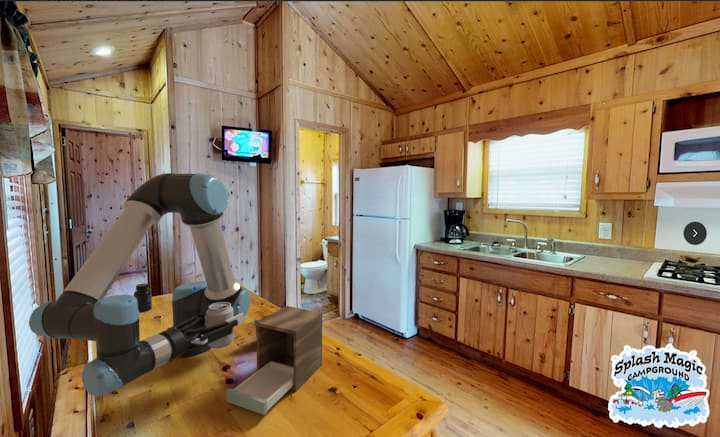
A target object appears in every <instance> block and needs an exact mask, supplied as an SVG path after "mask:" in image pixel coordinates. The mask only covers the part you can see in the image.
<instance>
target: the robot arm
mask: <svg viewBox="0 0 720 437" xmlns="http://www.w3.org/2000/svg"><path fill="white" fill-rule="evenodd" d="M228 200H229V195H228V191H227V187H226V186H225V184H224V182H223V181H222V180H221V179H220V178H218V177H217V176H216V175H213V174H206V173H170V172H169V173H168V172H167V173H162V174H158V175H155V176H153V177H151V178H150V179H148V180H146V181H145V182H143V183H142V184H141V185H140V186H138V188H136V189H135V190H134V191H133V192H132V193H131V194H130V195H129V197H128V198H127V199H126V201H125V202H124V203H123V205H122V206H123V212H122V213H121V214H120V215H119V217H118V218H117V219H116V220H115V222H114V223H113V224H112V226H111V227H110V229H109V230H108V231H107V233H106V234H105V235H104V237H103V238H102V239H101V241H100V242H99V243H98V245H97V246H96V247H95V249H94V250H93V251H92V252H91V254H90V255H89V256H88V258H87V259H86V260H85V262H84V263H83V265H82V266H81V267H80V269H79V270H78V271H77V272H76V274H75V275H74V277H73V278H72V279H71V280H70V282H69V283H68V285H67V286H66V287H65V288H64V290H63V291H62V293H61V294H60V295H59V296H58V298H57V299H55V300H52V301H46V302H43V303H42V304H40V305H39V306H37V307H36V308H35V309H34V310H33V311H32V313H31V314H30V317H29V320H28V326H29V329H30V331H31V332H32V333H33V334H35V335H37V336H41V337H47V338H50V339H67V340H71V339H72V340H79V341H92V342H95V348H96V358H94V359H92V360H91V361H89V362H87V363H86V364H85V365H84V366H83V368H82V372H81V382H82V384H83V387H84V389H85V390H86V392H87V393H88V394H89V395H91V396H93V397H97V398H99V397H102V396H105V395H107V394H109V393H111V392H114V391H116V390H118V389H121V388H123V387H124V386H126V385H127V384H129V383H131V382H133V381H135V380H136V379H138V378H140V377H143V375H146V374H149V373H150V372H153V371H154V370H156V369H157V368H159V367H162V366H164V365H165V364H167V363H169V362H172V361H173V360H176V359H178V358H179V357H181V358H183V357H184V358H185V357H190V356H191V357H192V356H195V355H200V354H202V353H205V352H206V351H207V352H208V351H209V350H210V349H213V348H212V347H210V346H209V345H208V344H209V343H211V342H214V341H216V340H218V339H220V338H223V337H225V336H227V335H230V334H232V328H233V327H234V328H235V327H237V326H239V325H241V324H242V323H244V320H245V317H246V315H247V313H248V311H249V308H250V305H251V291H250V290H249V289H247V288H242V286H241V281H240V280H239V279H238V278H236V277H235V276H234V272H233V268H232V265H231V261H230V256H229V253H228V252H229V251H228V248H227V244H226V240H225V239H226V238H225V235H224V232H223V228H222V224H221V218H222V217H223V216H224V212H225V211H226V209H227V208H228V203H229V202H228ZM169 213H170V214H171V213H173V214H174V213H176V214H177V213H178V214H179V216H180V220H181V222H182V224H183V225H185V226H187V227H189V229H190V232H191V237H192V239H193V241H194V245H195V249H196V252H197V255H198V259H199V262H200V265H201V266H200V267H201V269H202V272H203V277H204V279H205V280H197V281H192V282H188V283H184V284H181V285H178V286H177V287H175V288H174V289H173V290H172V299H171V306H172V326H170V327H168V328H167V329H165V330H163V331H161V332H159V333H156V334H153V335H151V336H149V337H147V338H144V339H142V340H141V339H140V338H141V336H140V315H141V314H140V312H139V311H138V303H137V299H136V297H134V295H131V294H120V295H119V294H116V295H108V296H106V295H107V293H108V292H109V291H110V289H111V287H112V286H113V284H114V283H115V282H116V280H117V279H118V277H119V275H120V274H121V272H122V271H123V270H124V268H125V267H126V265H127V264H128V262H129V260H130V258H131V257H132V256H133V254H134V253H135V251H136V250H137V248H138V246H139V245H140V244H141V243H142V241H143V240H144V238H145V236H146V235H147V233H148V231H149V230H150V228H151V227H152V226H153V224H157V223H160V220H162V217H163V216H165V215H167V214H169ZM105 296H106V297H105ZM218 302H228V303H230V304H231V307H233V312H234V317H232V318H230V319H228V320H226V321H225V323H222V324H218V325H215V326H211V327H208V328H206V311H207V310H208V309H209V308H208V307H209V306H210V305H211V304H214V303H218Z"/></svg>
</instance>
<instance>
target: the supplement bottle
mask: <svg viewBox="0 0 720 437" xmlns="http://www.w3.org/2000/svg"><path fill="white" fill-rule="evenodd" d="M133 296H134V297H136V299H137V303H138V311H139V313H145V312H148V311H150V310H152V308H153V304H152V303H153V300H152V299H153V298H152V297H153V296H152V290H151V289H150V286H149V283H139V284H136V285H135V291H134V292H133Z"/></svg>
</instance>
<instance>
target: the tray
mask: <svg viewBox="0 0 720 437" xmlns="http://www.w3.org/2000/svg"><path fill="white" fill-rule="evenodd" d="M293 385H294V367H292V366H288V365H284V364H281V363H277V362H273V361H270V362H268V363H267V364H266V365H264V366H263V367H262V368H260V369H259V370H258V371H257V370H256V371H255V372H253V373H252V374H251V375H250V376H249V377H248V378H246V379H245V380H244V381H242V382H241V383H240V384H238V385H237V386H236V387H234V388H231V387H230V388H229V387H228V389H226V402H227V403H229V404H233V405H235V406H238V407H241V408H244V409H247V410H249V411H251V412H255V413H258V414H259V415H262V416H266V415H267V414H268V411H269V410H270V409H271V408H272V407H273V406H274V405H275V404H276V403H277V402H278V401H279V400H280V399H281V398H282V397H283V396H284V395H285V394H286V393H287V392H288V391H290V390H289V389H290V388H291V387H292V386H293Z"/></svg>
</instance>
